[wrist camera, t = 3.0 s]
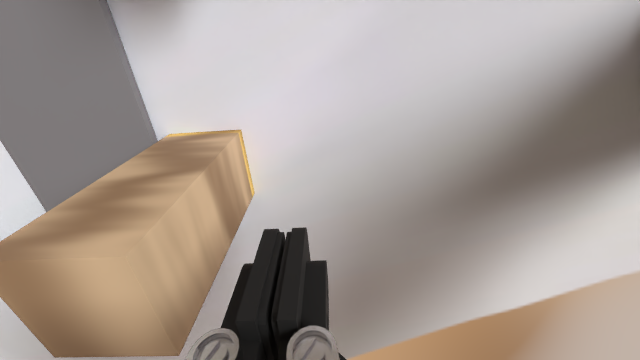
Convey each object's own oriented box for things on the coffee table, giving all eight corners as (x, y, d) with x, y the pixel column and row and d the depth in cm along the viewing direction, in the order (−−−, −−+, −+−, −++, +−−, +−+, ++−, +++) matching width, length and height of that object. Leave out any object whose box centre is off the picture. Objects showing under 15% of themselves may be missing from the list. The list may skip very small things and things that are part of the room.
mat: (92, -38, 15) (83, -40, 14) (209, 283, 26) (207, 288, 25) (-89, -19, 15) (-104, -21, 15) (102, 286, 26) (98, 291, 26)
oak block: (240, 129, 19) (126, 256, 8) (254, 193, 21) (178, 355, 10) (169, 134, 19) (-32, 262, 8) (190, 196, 21) (54, 357, 11)
